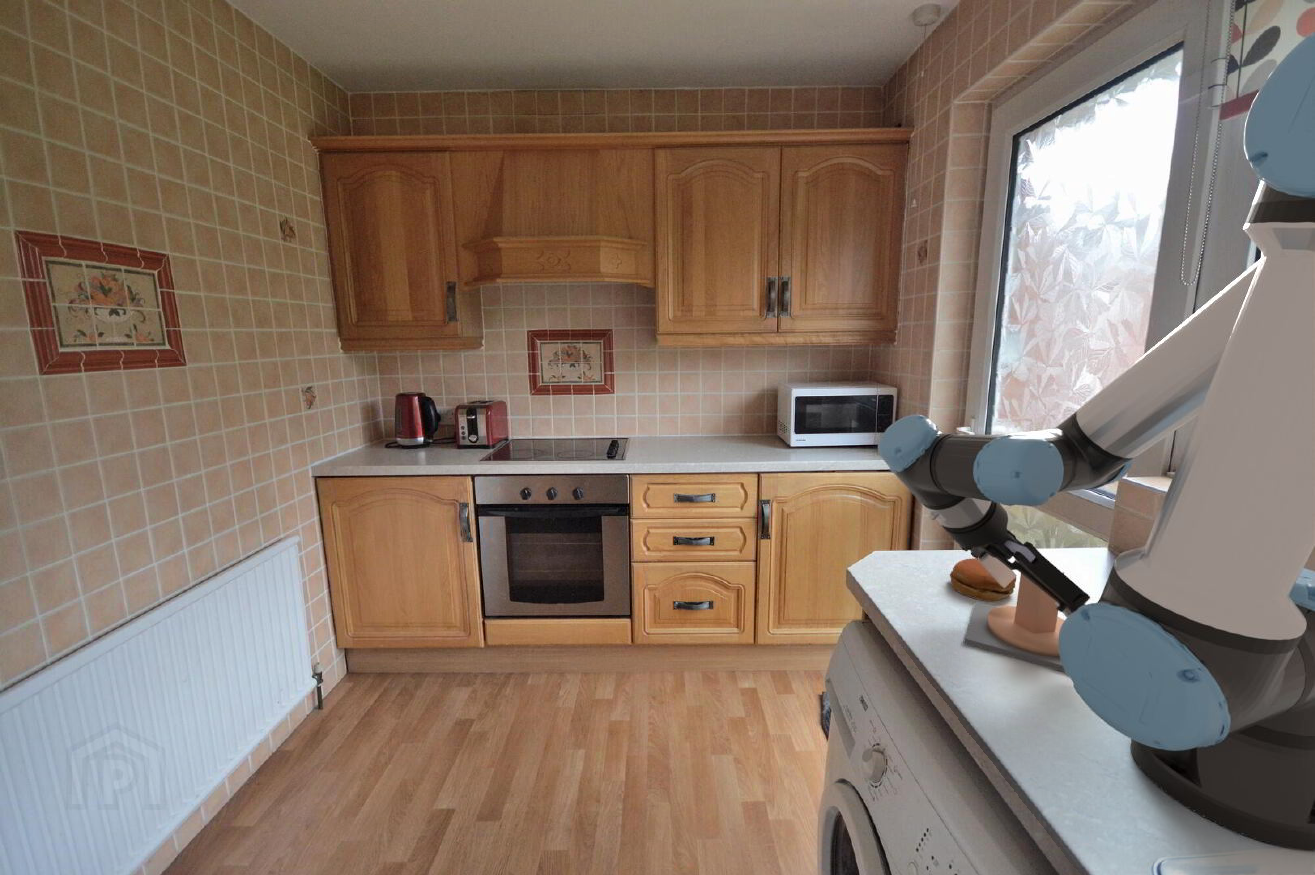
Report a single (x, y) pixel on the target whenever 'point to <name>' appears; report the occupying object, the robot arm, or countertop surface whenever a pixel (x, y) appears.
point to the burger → (978, 581)
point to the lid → (1028, 621)
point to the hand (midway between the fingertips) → (1045, 602)
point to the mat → (987, 640)
